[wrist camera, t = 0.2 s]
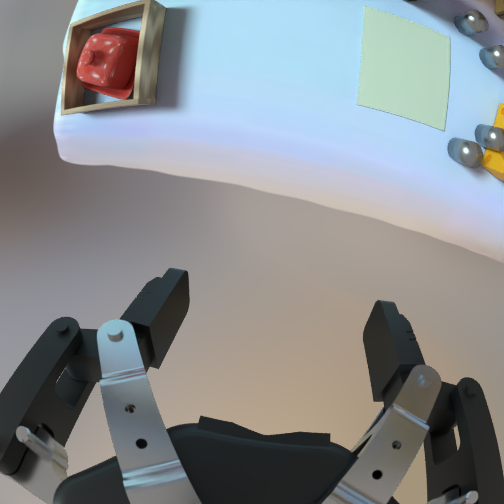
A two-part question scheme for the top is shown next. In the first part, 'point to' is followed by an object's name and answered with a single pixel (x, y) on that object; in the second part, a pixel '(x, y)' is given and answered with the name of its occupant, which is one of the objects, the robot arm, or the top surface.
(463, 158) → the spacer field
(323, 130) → the top surface
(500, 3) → the picture frame
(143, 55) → the frame
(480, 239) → the top surface
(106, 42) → the butter dish
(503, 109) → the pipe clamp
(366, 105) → the pad
